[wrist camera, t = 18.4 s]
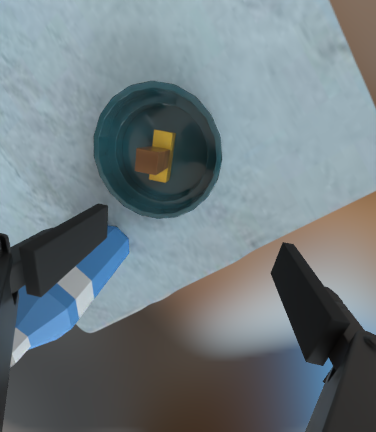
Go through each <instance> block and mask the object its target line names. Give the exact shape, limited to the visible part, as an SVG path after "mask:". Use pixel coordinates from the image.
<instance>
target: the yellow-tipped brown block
mask: <svg viewBox="0 0 376 432" xmlns="http://www.w3.org/2000/svg"><path fill="white" fill-rule="evenodd" d="M175 137H176V133H172V132H167V131H161V130H155V129H154V135H153V144H152V146H150V147H142V148H137V149H136V161H135V171H137V172H142V173H147V174H149V179H150V180H154V181H159V182H164V183H166V182H167V181H168V180H169V179H170V172H171V165H172V158H173V151H174V144H175Z"/></svg>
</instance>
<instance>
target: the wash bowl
mask: <svg viewBox="0 0 376 432" xmlns="http://www.w3.org/2000/svg"><path fill="white" fill-rule="evenodd" d="M154 129H155V130H161V131H167V132H172V133H176V137H175V144H174V151H173V158H172V165H171V172H170V179H169V180H168V181H167V182H166V183H164V182H159V181H154V180H150V179H149V174H147V173H142V172H137V171H135V161H136V149H137V148H142V147H150V146H152V144H153V135H154ZM94 158H95V162H96V165H97V169H98V172H99V175H100V177H101V179H102V181H103V182H104V184H105V186H106V187H107V189H108V190H109V192H110V193H111V194H112V195H113V196H114V197H115V198H116V199H117V200H118V201H119V202H120V203H121V204H122V205H123V206H125V207H126V208H128V209H130V210H132V211H134V212H136V213H138V214H140V215H143V216H147V217H152V218H157V219H161V218H172V217H178V216H180V215H183V214H185V213H187V212H190V211H192V210H194V209H195V208H196V207H197V206H198V205H199V204H201V203H202V202H203V201H204V200H205V199H206V198H207V197H208V196H209V194H210V192H211V190H212V189H213V187H214V185H215V184H216V182H217V180H218V176H219V171H220V167H221V162H222V151H221V139H220V135H219V132H218V130H217V127H216V125H215V123H214V120H213V118H212V115H211V114H210V113H209V111H208V110H207V109H206V108H205V107H204V106H203V104H202V103H201V102H200V101H199V100H198V99H197V97H196V96H194V95H192V94H191V93H189V92H187V91H185V90H184V89H182V88H180V87H179V86H177V85H175V84H170V83H164V82H158V81H148V82H143V83H139V84H134V85H131V86H128V87H127V88H126V89H124V90H123V91H121V92H120V93H118V94H117V95H115V96H114V97H112V99H111V100H110V102H109V103H108V104H107V106H106V107H105V109H104V110H103V111H102V113H101V114H100V117H99V120H98V123H97V127H96V130H95V133H94Z"/></svg>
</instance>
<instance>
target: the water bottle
mask: <svg viewBox="0 0 376 432" xmlns="http://www.w3.org/2000/svg"><path fill="white" fill-rule="evenodd" d="M128 254H129V240H128V238H127V237H126V236H125V235H124V234H123V233H122V232H121V231H120V230H119V229H118V228H117V227H115V226H107V238H106V239H105V240H104V241H103V242H102V243H101V244H100V245H98V246H97V247H96V248H95V249H94V250H93V251H92V252H91V253H90V254H88V255H87V256H86V257H85V258H84V259H83V260H82V261H81V262H80V263H79V264H77V265H76V266H75V267H74V268H73V269H72V270H71V271H70V272H69V273H68V274H66V275H65V276H64V277H63V278H62V279H61V280H60V281H59V282H58V283H56V284H55V285H54V286H53V287H52V288H51V289H50V290H49V291H48V292H47V293H45V294H44V295H43V296H42V297H37V296H33V295H29V294H27V292H26V286H25V285H24V286H23V287H22V288H20V289H19V290H18V291H19V302H18V310H17V318H16V326H15V333H14V341H13V349H12V357H11V365H10V367H11V366H13V365H14V364H15V363H16V362H17V361H18V360H19V359H20V358H21V357H22V356H23V354H24V353H25V352H26V351H27V350H29V349H32V348H34V347H37V346H40V345H42V344H45V343H48V342H50V341H54V340H56V339H58V338H59V337H61V336H62V335H64V334H65V333H66V332H68V331H69V330H70V329H72V328H73V326H74V325H75V324H76V322H77V321H78V320H79V318H80V317H81V316H82V314H83V313H84V312H85V310H86V309H87V308H88V306H89V305H90V304H91V302H92V301H93V300H94V299H95V297H96V296H97V295H98V293H99V292H100V291H101V289H102V288H103V287H104V285H105V284H106V283H107V281H108V280H109V279H110V277H111V276H112V275H113V273H114V272H115V271H116V269H117V268H118V267H119V266H120V264H121V263H122V262H123V260H124V259H125V258H126V256H127V255H128Z"/></svg>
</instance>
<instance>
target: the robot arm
mask: <svg viewBox="0 0 376 432" xmlns="http://www.w3.org/2000/svg"><path fill="white" fill-rule="evenodd" d="M107 221H108V206H107V205H102V204H97V205H95V206H93V207H91V208H89V209H87V210H86V211H84V212H82V213H80V214H78V215H77V216H75V217H73V218H71V219H69V220H68V221H66V222H64V223H62V224H60V225H58V226H57V227H55V228H50V229H46V230H43V231H41V232H39V233H37V234H35V235H33V236H31V237H30V238H29V239H26V240H24V241H22V242H20V243H18V244H16V245H15V246H13V247H11V248H10V243H9V238H8V235H6V234H2V233H0V432H2V427H3V420H4V411H5V404H6V396H7V388H8V380H9V372H10V365H11V357H12V349H13V341H14V333H15V326H16V318H17V310H18V302H19V291H18V290H19V289H20V288H22V287H23V286H24V285H25V286H26V292H27V294H29V295H33V296H37V297H42V296H43V295H44V294H45V293H47V292H48V291H49V290H50V289H51V288H52V287H53V286H54V285H55V284H56V283H58V282H59V281H60V280H61V279H62V278H63V277H64V276H65V275H66V274H68V273H69V272H70V271H71V270H72V269H73V268H74V267H75V266H76V265H77V264H79V263H80V262H81V261H82V260H83V259H84V258H85V257H86V256H87V255H88V254H90V253H91V252H92V251H93V250H94V249H95V248H96V247H97V246H98V245H100V244H101V243H102V242H103V241H104V240H105V239H106V238H107ZM271 275H272V278H273V280H274V283H275V286H276V288H277V291H278V293H279V296H280V298H281V301H282V303H283V306H284V308H285V311H286V313H287V315H288V318H289V320H290V323H291V326H292V328H293V330H294V333H295V336H296V338H297V341H298V343H299V346H300V348H301V350H302V353H303V356H304V358H305V361H306V362H309V363H313V364H317V365H321V366H323V365H324V363H325V362H326V360H327V359H328V357H329V359H330V361H331V362H332V364H333V367H332V369H331V370H330V372H329V373H328V375H327V376H326V378H325V379H324V380H323V382H324V383H325V384H324V387H323V389H322V392H321V394H320V396H319V399H318V401H317V404H316V406H315V409H314V411H313V414H312V416H311V419H310V421H309V423H308V426H307V428H306V431H305V432H376V335H374V334H372V333H370V332H367V331H365V330H364V329H363V328H362V326H361V325H360V324H359V322H358V321H357V320H356V319H355V317H354V316H353V315H352V313H351V312H350V311H349V310H348V308H347V307H346V306H345V304H343V302H342V300H341V299H340V298H339V296H338V295H337V294H336V293H334V292H333V291H332V290H331V289H329V288H328V287H324V286H323V284H322V283H321V281H320V280H319V279H318V277H317V276H316V275H315V273H314V272H313V270H312V269H311V268H310V266H309V265H308V264H307V262H306V261H305V259H304V258H303V257H302V255H301V254H300V252H299V251H298V250H297V248H296V247H295V246H294V244H289V243H284V242H283V244H282V246H281V248H280V251H279V254H278V256H277V259H276V261H275V264H274V266H273V269H272V271H271Z"/></svg>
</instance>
